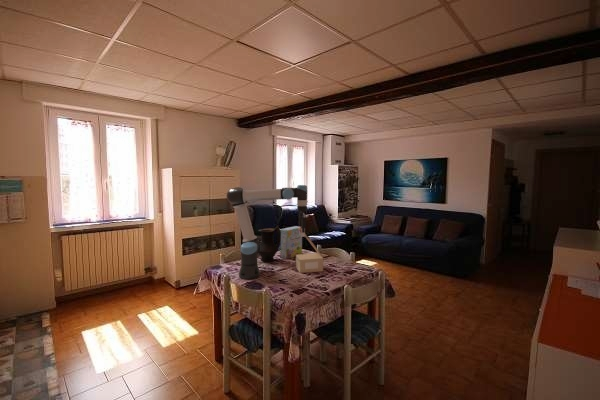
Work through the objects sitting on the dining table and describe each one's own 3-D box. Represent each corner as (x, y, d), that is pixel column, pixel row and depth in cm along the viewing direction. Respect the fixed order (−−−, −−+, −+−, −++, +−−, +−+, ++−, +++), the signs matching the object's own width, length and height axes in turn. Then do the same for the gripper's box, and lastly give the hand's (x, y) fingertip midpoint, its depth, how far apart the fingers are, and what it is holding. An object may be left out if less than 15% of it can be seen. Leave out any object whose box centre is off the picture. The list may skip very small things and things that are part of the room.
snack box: (287, 259, 246) (287, 230, 244) (280, 257, 251) (279, 229, 249) (302, 254, 263) (302, 226, 261) (295, 252, 268) (295, 225, 266)
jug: (252, 263, 237) (251, 227, 234) (261, 256, 254) (261, 223, 252) (276, 265, 231) (275, 228, 228) (284, 258, 248) (283, 224, 246)
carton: (299, 272, 213) (299, 259, 212) (295, 267, 226) (295, 254, 226) (323, 271, 217) (323, 258, 216) (317, 265, 231) (317, 253, 230)
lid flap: (300, 231, 211) (304, 228, 211) (296, 228, 223) (300, 225, 224) (320, 258, 216) (324, 255, 217) (315, 254, 229) (319, 251, 229)
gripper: (310, 206, 208) (309, 238, 210) (304, 204, 226) (303, 233, 228) (300, 206, 206) (299, 238, 209) (294, 204, 224) (294, 233, 226)
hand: (302, 235), depth 218 cm, fingers closed on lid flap, 5 cm apart
